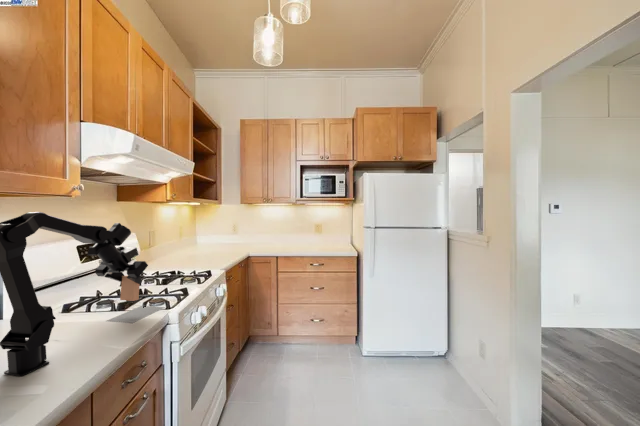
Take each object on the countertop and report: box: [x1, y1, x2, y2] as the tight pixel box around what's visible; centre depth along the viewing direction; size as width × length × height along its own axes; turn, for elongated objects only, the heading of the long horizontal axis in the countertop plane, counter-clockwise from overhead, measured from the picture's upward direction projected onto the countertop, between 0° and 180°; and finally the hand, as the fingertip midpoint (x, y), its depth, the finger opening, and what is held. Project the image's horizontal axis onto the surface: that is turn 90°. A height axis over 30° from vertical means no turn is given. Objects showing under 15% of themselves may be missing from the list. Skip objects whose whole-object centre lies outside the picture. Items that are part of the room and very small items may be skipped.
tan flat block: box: [119, 274, 141, 302], centre depth 112 cm, size 2×6×9 cm, turn 77°
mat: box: [106, 305, 166, 324], centre depth 114 cm, size 16×12×1 cm
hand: (133, 282), depth 113 cm, fingers closed on tan flat block, 6 cm apart
